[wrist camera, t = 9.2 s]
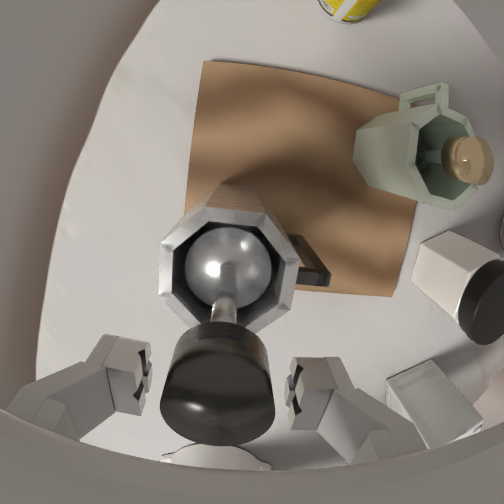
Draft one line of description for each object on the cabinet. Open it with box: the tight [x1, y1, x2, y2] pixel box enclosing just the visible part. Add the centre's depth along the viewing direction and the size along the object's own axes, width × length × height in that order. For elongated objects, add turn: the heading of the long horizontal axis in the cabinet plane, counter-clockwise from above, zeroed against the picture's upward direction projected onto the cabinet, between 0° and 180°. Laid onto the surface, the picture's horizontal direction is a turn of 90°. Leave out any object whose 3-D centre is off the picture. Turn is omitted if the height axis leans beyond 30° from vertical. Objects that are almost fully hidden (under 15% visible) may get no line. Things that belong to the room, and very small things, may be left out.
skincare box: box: [386, 359, 484, 449], centre depth 30 cm, size 8×6×15 cm
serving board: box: [184, 61, 419, 297], centre depth 28 cm, size 21×23×1 cm
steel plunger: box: [160, 225, 275, 446], centre depth 12 cm, size 5×5×11 cm
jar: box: [410, 231, 504, 345], centre depth 26 cm, size 9×8×12 cm
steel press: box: [159, 183, 332, 334], centre depth 22 cm, size 7×10×13 cm
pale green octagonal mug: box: [352, 82, 478, 211], centre depth 21 cm, size 10×7×10 cm
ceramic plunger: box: [415, 134, 493, 185], centre depth 19 cm, size 5×5×10 cm
